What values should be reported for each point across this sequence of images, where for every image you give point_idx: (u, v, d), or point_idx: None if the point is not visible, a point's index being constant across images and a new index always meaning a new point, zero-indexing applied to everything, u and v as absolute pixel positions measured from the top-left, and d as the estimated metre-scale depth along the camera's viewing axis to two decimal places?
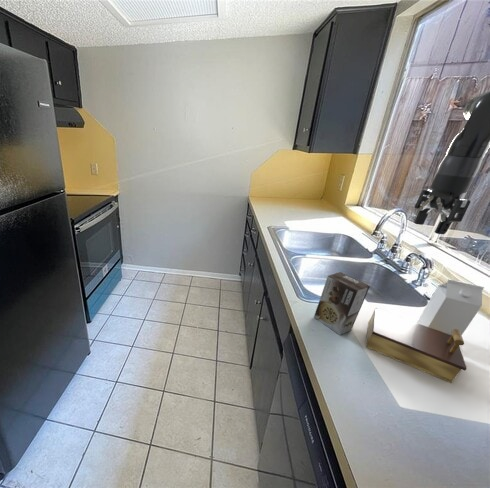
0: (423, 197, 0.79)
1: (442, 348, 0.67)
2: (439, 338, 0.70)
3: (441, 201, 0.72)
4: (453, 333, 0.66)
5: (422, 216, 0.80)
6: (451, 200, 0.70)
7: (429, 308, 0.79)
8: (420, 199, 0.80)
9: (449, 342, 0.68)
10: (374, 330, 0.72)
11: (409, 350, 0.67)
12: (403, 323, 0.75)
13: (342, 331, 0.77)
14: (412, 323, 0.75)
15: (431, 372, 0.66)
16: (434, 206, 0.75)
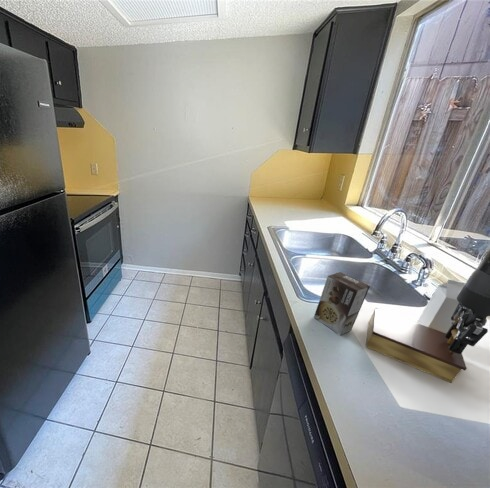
0: None
1: (442, 348, 0.67)
2: (439, 338, 0.70)
3: (463, 317, 0.62)
4: (453, 333, 0.66)
5: None
6: (471, 319, 0.60)
7: (429, 308, 0.79)
8: (456, 310, 0.68)
9: (449, 342, 0.68)
10: (374, 330, 0.72)
11: (409, 350, 0.67)
12: (403, 323, 0.75)
13: (342, 331, 0.77)
14: (412, 323, 0.75)
15: (431, 372, 0.66)
16: None
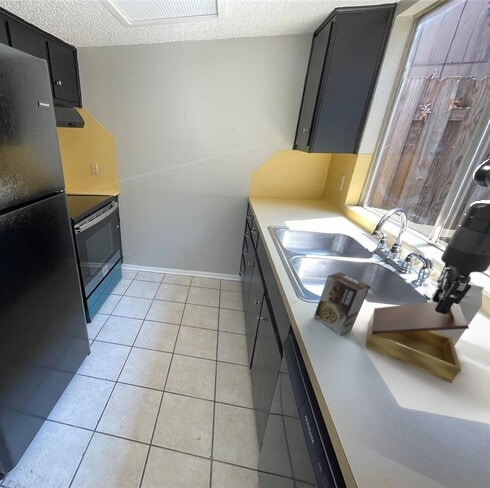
0: None
1: (442, 316, 0.65)
2: None
3: (448, 276, 0.62)
4: (439, 297, 0.66)
5: None
6: (455, 277, 0.60)
7: None
8: (442, 273, 0.68)
9: None
10: (373, 329, 0.72)
11: (409, 350, 0.67)
12: (401, 310, 0.74)
13: (342, 331, 0.77)
14: (411, 306, 0.74)
15: (431, 372, 0.66)
16: None
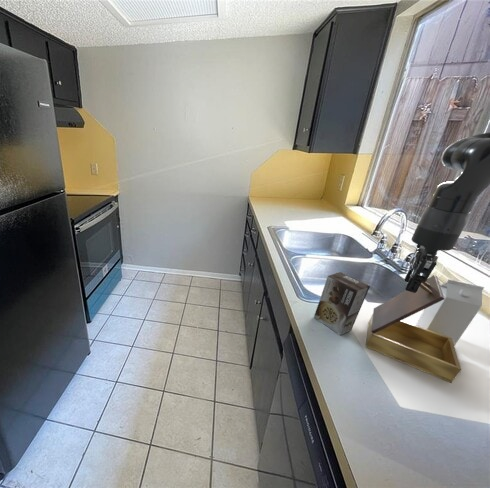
0: None
1: (423, 296, 0.66)
2: (420, 289, 0.69)
3: (417, 255, 0.64)
4: None
5: None
6: (423, 255, 0.62)
7: (429, 308, 0.79)
8: (414, 254, 0.70)
9: (426, 285, 0.68)
10: (372, 329, 0.72)
11: (409, 350, 0.67)
12: (394, 302, 0.75)
13: (342, 331, 0.77)
14: (401, 295, 0.75)
15: (431, 372, 0.66)
16: None
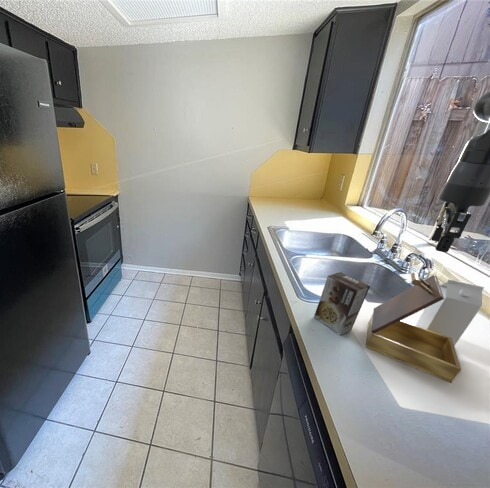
0: None
1: (423, 295, 0.66)
2: (420, 289, 0.69)
3: (446, 214, 0.63)
4: (411, 278, 0.69)
5: (440, 232, 0.68)
6: (454, 213, 0.60)
7: (429, 308, 0.79)
8: (441, 212, 0.69)
9: (426, 285, 0.68)
10: (372, 329, 0.72)
11: (409, 350, 0.67)
12: (393, 301, 0.75)
13: (342, 331, 0.77)
14: (401, 294, 0.75)
15: (431, 372, 0.66)
16: None
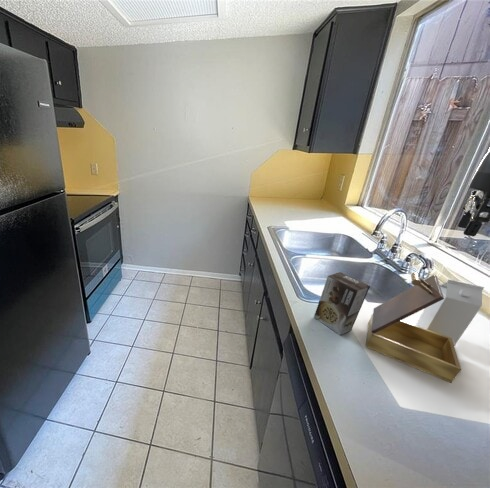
0: None
1: (423, 295, 0.66)
2: (420, 289, 0.69)
3: (475, 200, 0.67)
4: (411, 278, 0.69)
5: (467, 218, 0.73)
6: (483, 199, 0.65)
7: (429, 308, 0.79)
8: (468, 200, 0.74)
9: (426, 285, 0.68)
10: (372, 329, 0.72)
11: (409, 350, 0.67)
12: (393, 301, 0.75)
13: (342, 331, 0.77)
14: (401, 294, 0.75)
15: (431, 372, 0.66)
16: None
